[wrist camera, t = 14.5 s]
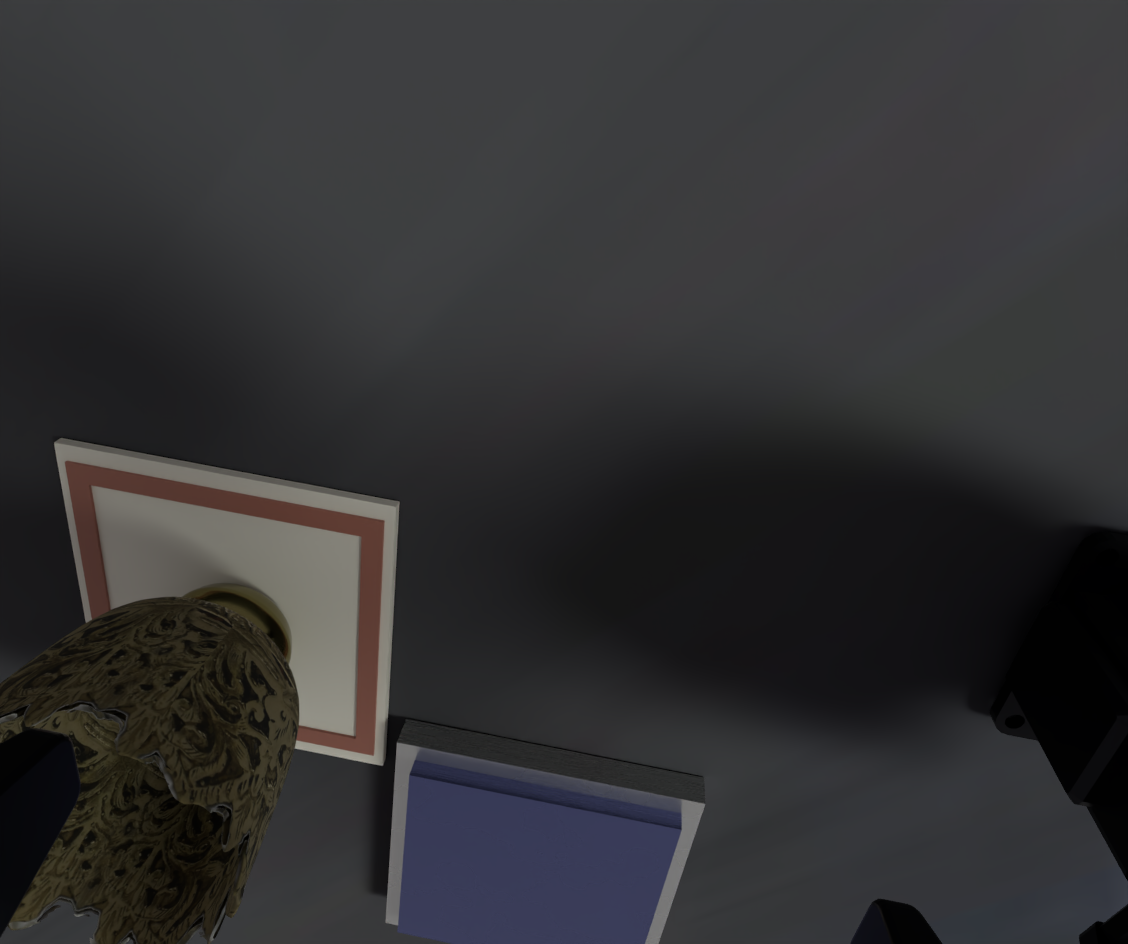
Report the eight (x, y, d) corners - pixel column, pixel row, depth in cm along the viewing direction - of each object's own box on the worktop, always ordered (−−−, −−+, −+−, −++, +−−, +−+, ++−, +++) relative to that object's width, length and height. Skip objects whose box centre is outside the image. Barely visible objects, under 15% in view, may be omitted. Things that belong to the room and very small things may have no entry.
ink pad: (704, 778, 25) (706, 820, 24) (647, 949, 30) (646, 994, 28) (406, 718, 26) (390, 757, 24) (393, 897, 30) (380, 938, 29)
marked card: (399, 501, 22) (395, 508, 21) (385, 759, 27) (381, 768, 26) (61, 437, 22) (51, 444, 22) (107, 702, 27) (99, 711, 27)
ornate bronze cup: (393, 579, 23) (268, 816, 16) (329, 746, 26) (203, 1001, 19) (140, 477, 22) (-109, 675, 15) (109, 661, 26) (-105, 892, 18)
